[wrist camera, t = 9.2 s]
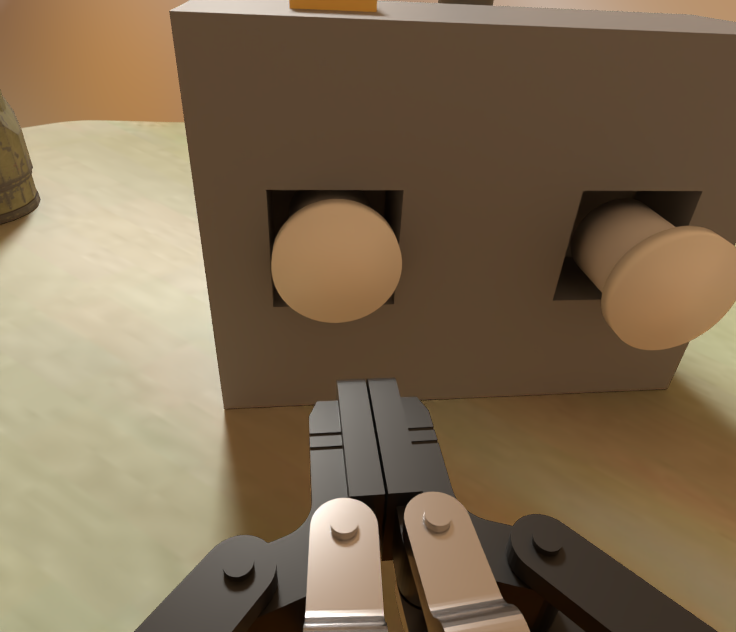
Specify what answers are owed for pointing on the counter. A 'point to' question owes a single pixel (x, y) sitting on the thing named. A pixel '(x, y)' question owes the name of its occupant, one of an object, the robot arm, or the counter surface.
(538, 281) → the control panel
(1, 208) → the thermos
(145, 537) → the counter surface
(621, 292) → the right button
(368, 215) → the left button
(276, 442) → the counter surface
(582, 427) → the counter surface
